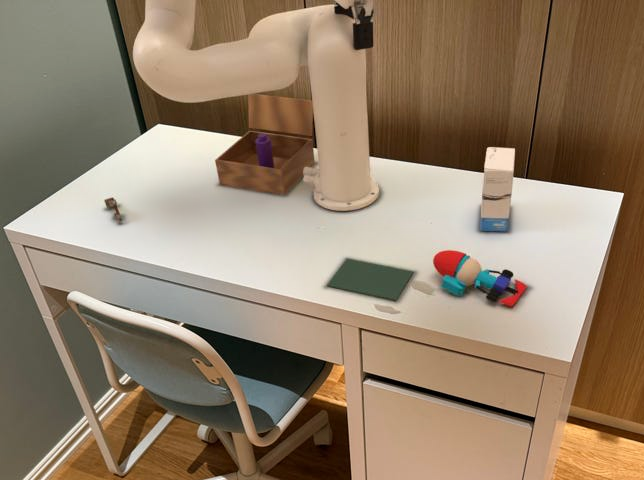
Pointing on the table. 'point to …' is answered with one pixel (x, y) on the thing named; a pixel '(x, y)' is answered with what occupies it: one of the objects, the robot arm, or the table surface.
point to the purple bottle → (264, 151)
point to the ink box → (497, 189)
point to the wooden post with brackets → (112, 203)
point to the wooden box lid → (280, 114)
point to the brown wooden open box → (245, 172)
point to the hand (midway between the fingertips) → (353, 39)
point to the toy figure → (474, 277)
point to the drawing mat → (370, 279)
